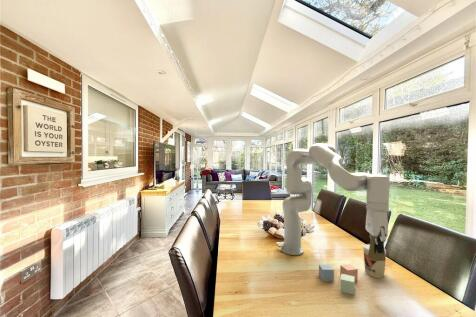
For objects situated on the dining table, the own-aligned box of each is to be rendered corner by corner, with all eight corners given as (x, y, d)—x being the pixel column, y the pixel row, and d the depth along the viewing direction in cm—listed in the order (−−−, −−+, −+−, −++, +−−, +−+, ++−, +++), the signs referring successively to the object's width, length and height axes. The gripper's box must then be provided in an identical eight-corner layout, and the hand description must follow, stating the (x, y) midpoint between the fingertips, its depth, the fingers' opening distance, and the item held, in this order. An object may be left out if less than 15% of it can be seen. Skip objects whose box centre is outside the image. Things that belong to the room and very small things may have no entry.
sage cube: (340, 291, 92) (340, 279, 92) (341, 285, 96) (341, 273, 96) (354, 294, 90) (354, 282, 90) (354, 288, 94) (354, 276, 94)
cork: (364, 254, 92) (365, 227, 92) (378, 253, 93) (379, 227, 93) (374, 261, 86) (375, 232, 86) (389, 260, 87) (390, 232, 87)
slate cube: (322, 280, 100) (322, 269, 100) (318, 275, 105) (318, 264, 105) (333, 281, 100) (333, 269, 100) (329, 275, 105) (329, 264, 105)
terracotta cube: (347, 281, 99) (347, 270, 99) (340, 275, 104) (340, 265, 104) (357, 280, 100) (357, 269, 100) (349, 274, 105) (349, 263, 105)
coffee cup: (358, 270, 109) (358, 245, 109) (372, 267, 112) (372, 243, 112) (376, 280, 100) (376, 253, 100) (391, 276, 104) (391, 250, 104)
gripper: (360, 201, 98) (359, 243, 99) (375, 210, 82) (374, 260, 82) (379, 202, 97) (378, 244, 97) (398, 211, 80) (397, 262, 81)
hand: (376, 251), depth 90 cm, fingers closed on cork, 3 cm apart
